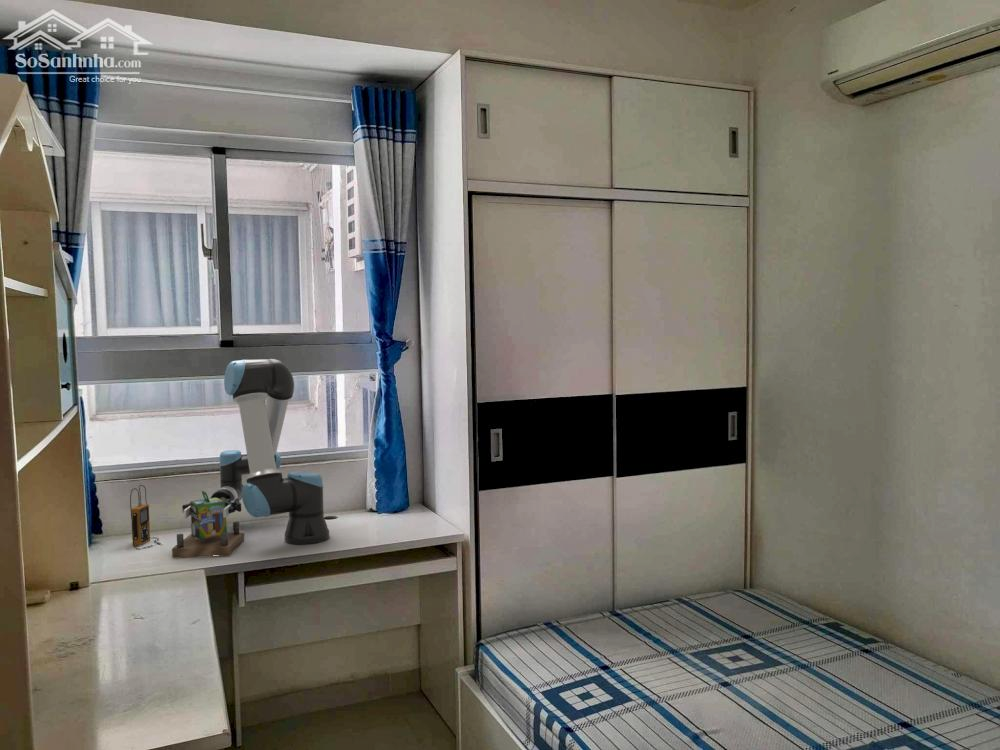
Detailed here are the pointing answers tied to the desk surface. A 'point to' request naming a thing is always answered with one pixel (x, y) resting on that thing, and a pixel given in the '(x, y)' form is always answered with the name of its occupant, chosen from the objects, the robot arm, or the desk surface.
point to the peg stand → (208, 544)
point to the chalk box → (207, 517)
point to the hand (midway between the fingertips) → (204, 513)
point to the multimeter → (140, 522)
